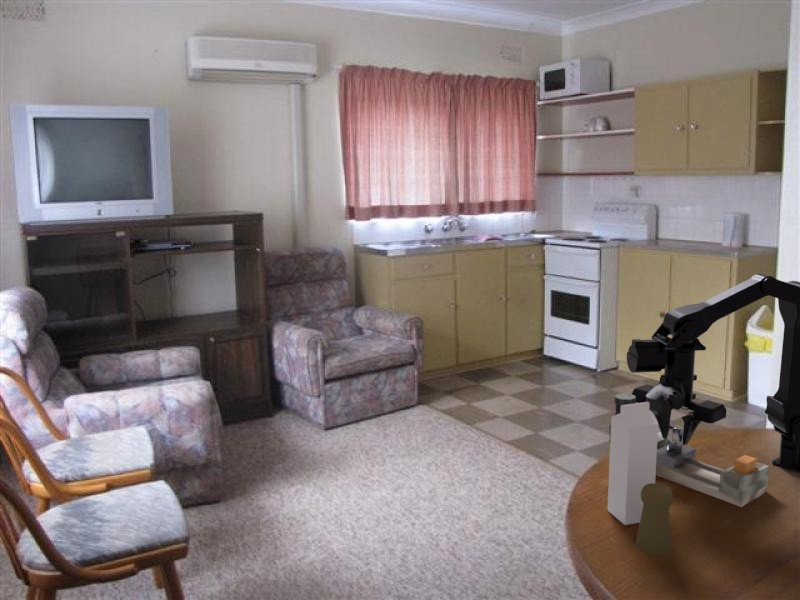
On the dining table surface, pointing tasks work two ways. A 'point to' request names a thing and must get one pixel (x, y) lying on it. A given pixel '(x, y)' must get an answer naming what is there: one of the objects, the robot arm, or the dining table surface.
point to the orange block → (745, 464)
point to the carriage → (675, 449)
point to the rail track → (716, 479)
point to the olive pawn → (655, 520)
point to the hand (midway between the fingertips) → (674, 441)
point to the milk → (631, 460)
